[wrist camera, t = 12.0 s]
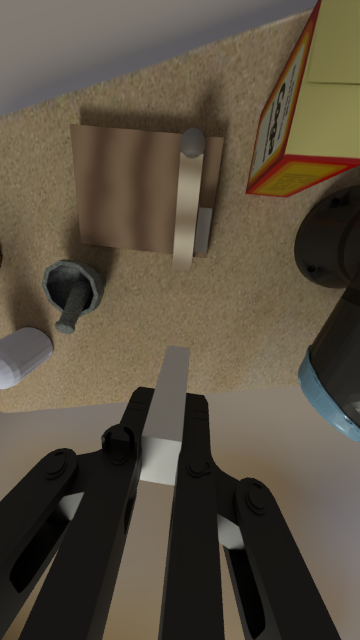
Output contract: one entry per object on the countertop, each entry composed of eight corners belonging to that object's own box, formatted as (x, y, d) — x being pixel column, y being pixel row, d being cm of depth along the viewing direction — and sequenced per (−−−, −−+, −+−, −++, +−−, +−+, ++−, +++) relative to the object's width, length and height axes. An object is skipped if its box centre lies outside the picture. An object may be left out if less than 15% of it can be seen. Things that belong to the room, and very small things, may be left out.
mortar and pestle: (60, 259, 38) (4, 269, 27) (105, 253, 37) (65, 260, 26) (79, 313, 43) (37, 339, 32) (120, 308, 41) (91, 335, 30)
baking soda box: (286, 197, 31) (364, 162, 17) (245, 193, 32) (285, 156, 17) (307, 118, 28) (431, -17, 13) (260, 115, 28) (328, -21, 13)
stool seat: (222, 145, 29) (226, 126, 24) (205, 256, 36) (206, 259, 31) (79, 132, 30) (56, 111, 25) (88, 243, 37) (70, 244, 32)
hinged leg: (183, 137, 27) (181, 126, 25) (206, 138, 27) (207, 127, 24) (173, 266, 34) (171, 269, 32) (192, 268, 34) (191, 271, 31)
